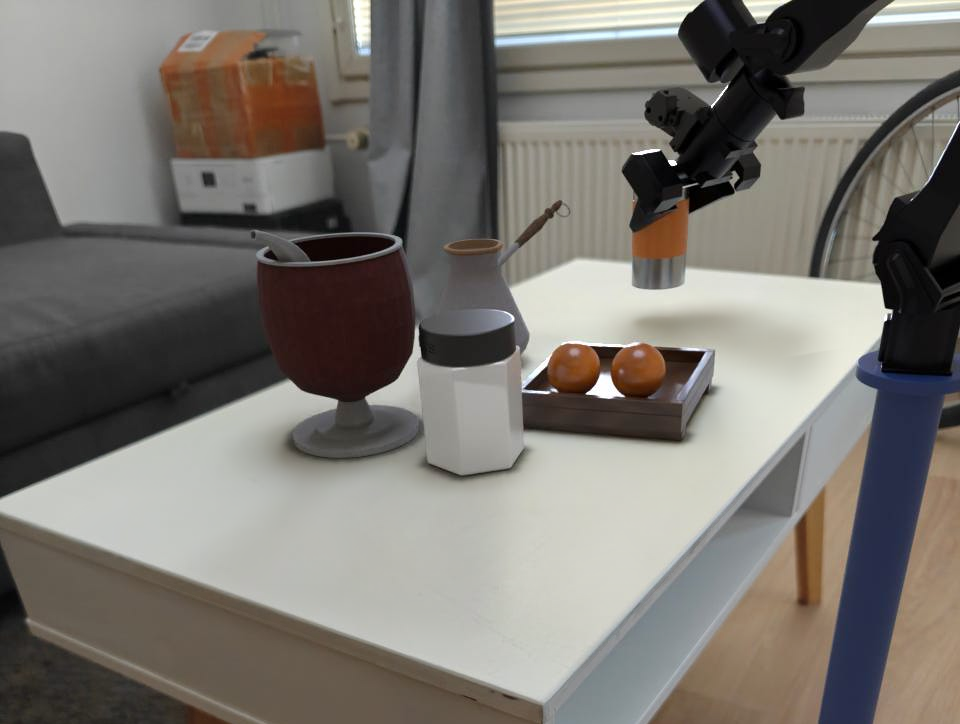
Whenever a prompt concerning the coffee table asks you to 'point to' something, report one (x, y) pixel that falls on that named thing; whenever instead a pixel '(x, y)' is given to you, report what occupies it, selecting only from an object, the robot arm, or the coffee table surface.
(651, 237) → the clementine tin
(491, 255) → the coffee pot
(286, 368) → the mate gourd
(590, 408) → the fruit tray
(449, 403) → the jar
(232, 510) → the coffee table surface
